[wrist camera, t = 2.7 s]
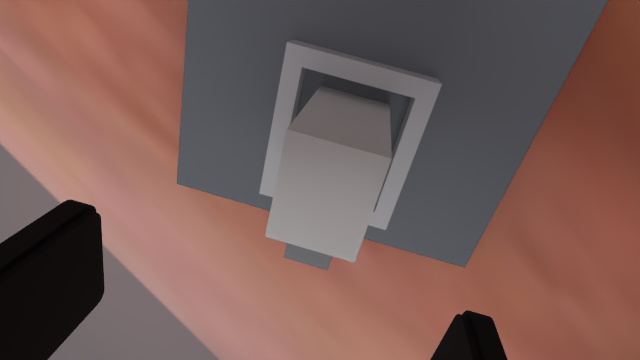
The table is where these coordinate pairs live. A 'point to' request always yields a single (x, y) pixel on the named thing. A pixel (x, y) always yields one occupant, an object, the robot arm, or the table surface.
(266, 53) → the dock board
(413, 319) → the table surface
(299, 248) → the plug
